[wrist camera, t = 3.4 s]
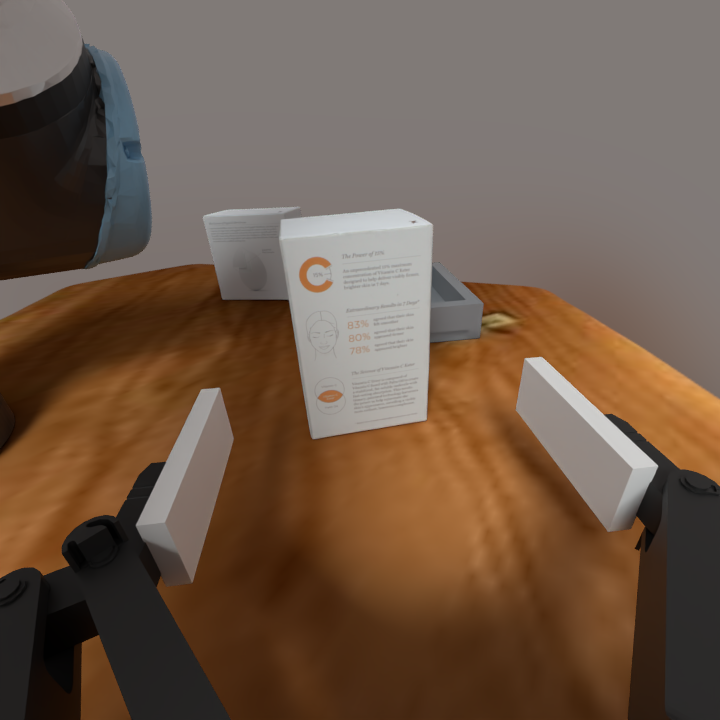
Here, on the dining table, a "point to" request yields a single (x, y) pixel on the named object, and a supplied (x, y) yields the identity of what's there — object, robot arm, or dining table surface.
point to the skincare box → (249, 252)
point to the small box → (360, 317)
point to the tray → (452, 308)
